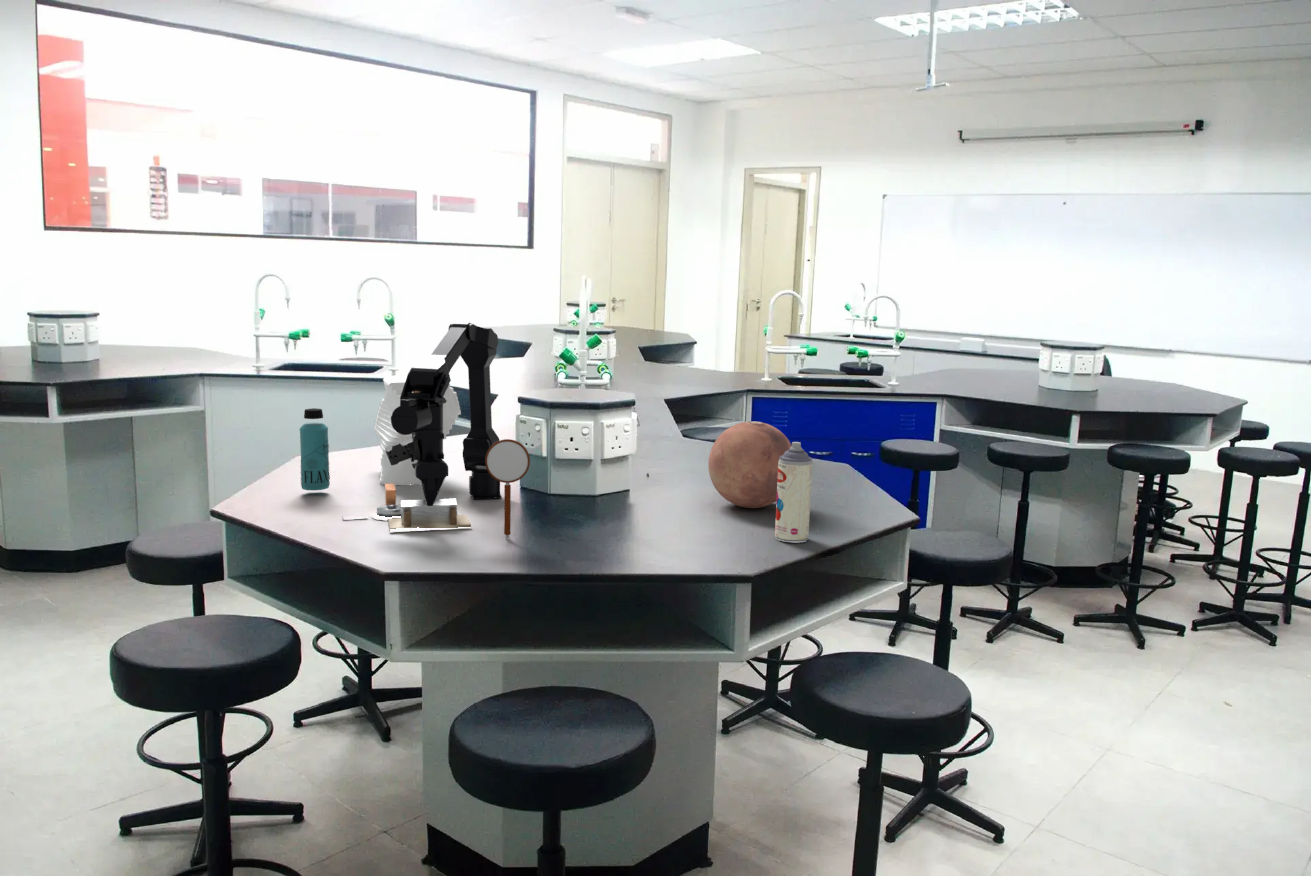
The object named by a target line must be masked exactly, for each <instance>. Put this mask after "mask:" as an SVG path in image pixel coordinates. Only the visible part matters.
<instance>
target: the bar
mask: <svg viewBox="0 0 1311 876" xmlns="http://www.w3.org/2000/svg"><path fill="white" fill-rule="evenodd" d="M400 505H401V524H402V525H404V512H405V511H411V524H433V523H450V509H456V510H457V511H458V504H457V498H436V499H435V501H434V504H433V506H427V502H426V499H412V500H411V499H407V500H402V499H401V500H400Z"/></svg>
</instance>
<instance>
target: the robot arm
mask: <svg viewBox="0 0 1311 876" xmlns="http://www.w3.org/2000/svg"><path fill="white" fill-rule="evenodd" d="M498 344H499V336H498V334H497V333H496V332H495V331H494V329H493V328H490V327H481V326H478V325H476V324H474V323H472V322H464V321H463V322H461V321H458V322H457V321H455V322H454V321H453V322H451V323H449V325H448V331H447V332H446V333H445V335H444V336H443V338H442V339H441V340H440V341H439V343H438V344H437V346H435V348H434V350H433V352H432V353H431V354H430V355H429V356H428V357H426V358H423V359H420V360H417V362H416V363H415V364H414V365H413V366H412V367H411V368H410V370H409V371H408V373H407V374H406V375H407V378H406V381H405V384H404V387H403V390H402V393H401V397H400V406H399V407H397V408H396V409H395V410H394V411H393V413H392V416H391V424H392V427H393V428H394V430H395V431H396V432H398V433H399V434H402V435H409V434H412V438H411V439H408V440H405V441H402V442H399V443H396V444H394V445H391V446H388V447H386V448H385V451H386V454H387V456H388V459H389V461H390V464H391V465H396V464H398V463H399V462H401V461H404V460H407V459H409V458H411V462H414V460H416V463H415V464H412V466H413V468H414V469H415V476H416V477H417V478H418V479H419V480H421V482H422V485H421V486H422V491H423V497H424V500H426V502H427V506H433V504H434V501H435V499H437V497H438V494H439V492H440V490H441V487H442V485H443V483H444V481H445V479H446V478H447V477H449V466H448V464H447V462H446V461H444V460H445V454H444V440H445V439H444V433H443V404H444V403H446V399H445V398H444V397H443V396H444V394H445V392H446V390H447V388H448V386H449V384H451V381H452V380H451V377H450V372H451V370H452V369H453V367H454V365H456V362H457V361H458V359H459V358H461V359H462V361H463V362H464V363H465V365H466V367H467V372H468V373H467V374H468V394H469V395H468V398H469V417H470V418H469V419H470V421H469V422H470V430H469V431H468V434H467V435H466V437H464V439H463V441H462V445H463V446H462V447H463V450H462V459H463V464H464V470H465V471H466V472H468V471H469V472H471V475H470V476H468V477H469V479H468V487H469V488H468V490H469V491H468V494H469V495H470V496H471V497H472V499H473V500H487V499H488V500H489V499H502V495H501V482H500V481H498V480H496V479H494V478H493V477H492V476H491V475H490V474H489V472H488V470H487V468H486V464H485V458H486V454H487V451H488V450H489V448H490V447H491V446H492V445H493V444H494V443H496V442H498V441H500V438H499V435H497V433H496V431H495V430H494V429H493V426H492V425H493V424H492V422H493V421H492V395H491V393H492V392H491V371H490V370H491V369H490V368H491V367H490V365H491V364H492V362H494V361H493V360H494V359H495V357H496V356H497V348H498ZM412 391H413V393H412Z"/></svg>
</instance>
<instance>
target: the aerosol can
mask: <svg viewBox="0 0 1311 876" xmlns="http://www.w3.org/2000/svg"><path fill="white" fill-rule="evenodd" d="M791 445H792V447H790V449H788V451H786V452H785V453H784V455H782V456H780V457H779V458H780V459H779V462H778V481H777V501H776V502H775V505H776V508H775V525H774V526H775V527H774V538H775V537H776V538H777V539H781V540H784V541H807V540H808V541H809V533H810V517H811V516H810V513H811V497H812V496H811V495H812V494H811V493H812V479H813V458H812V457H811V456H809V454H808V452H806V451H805V449H803V447H802V446H801V445H802V443H801V441H800V442H799V441H792V442H791Z"/></svg>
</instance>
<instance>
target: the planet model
mask: <svg viewBox="0 0 1311 876" xmlns="http://www.w3.org/2000/svg"><path fill="white" fill-rule="evenodd" d="M790 447H792V442H790V440H789V439H788V437H787V436H786V434H784V433H783V432H782V431H781V430H780V429H778V428H777V427H775V426H773V425H771V424H769V423H765V422H762V421H754V420H753V421H750V420H749V421H744V422H738V423H736V424H733V425H731V426H730V427H727V428H726V429H725V430H724V431H723V432H722V433H720V434H719V435H718V437H717V438H716V439H715V440H714V443H713V445H712V447H711V449H710V453H709V456H708V472H709V479H710V481H711V482H712V485H713V487H714V489H715V490H716V491H717V492H718V494H720V496H721V497H722V498H723V499H724V500H726V501H727V502H729V503H731V504H733V505H735V506H737V507H740V508H746V509H760V508H764V507H768V506H769V505H772V504H774V503H776V501H777V481H778V462H779V459H780V458H779V457H780V456H782V455H784V453H785V452H786V451H788V449H790Z"/></svg>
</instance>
